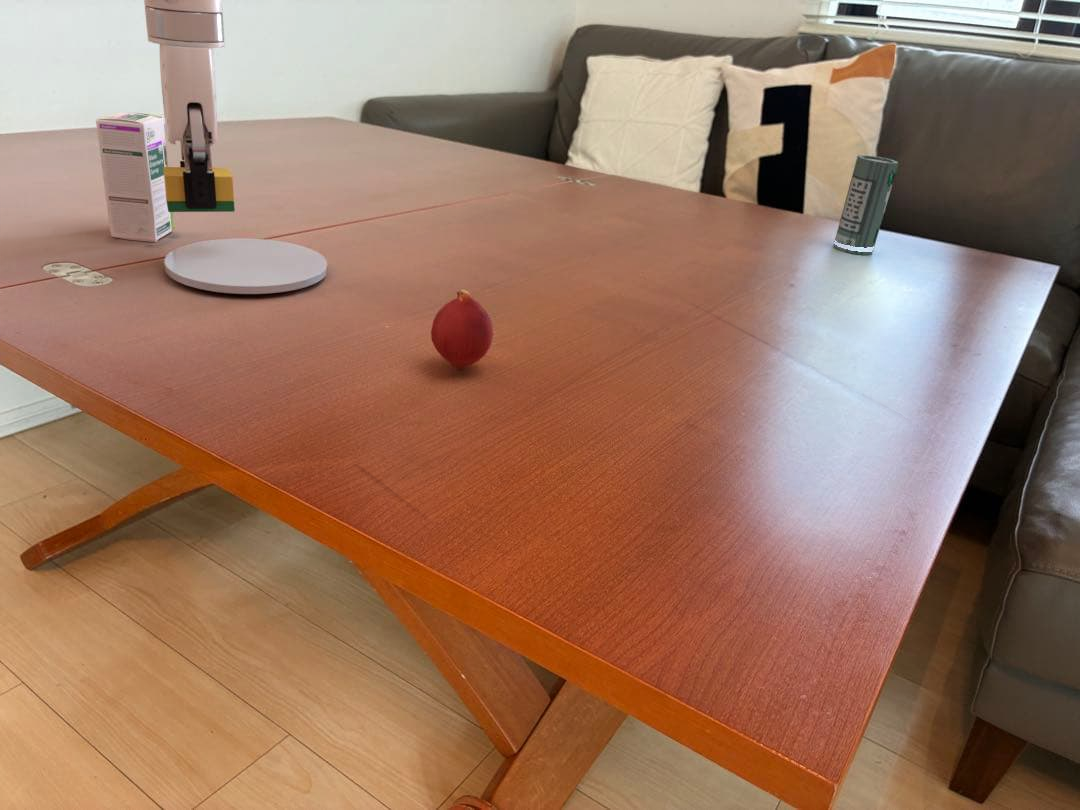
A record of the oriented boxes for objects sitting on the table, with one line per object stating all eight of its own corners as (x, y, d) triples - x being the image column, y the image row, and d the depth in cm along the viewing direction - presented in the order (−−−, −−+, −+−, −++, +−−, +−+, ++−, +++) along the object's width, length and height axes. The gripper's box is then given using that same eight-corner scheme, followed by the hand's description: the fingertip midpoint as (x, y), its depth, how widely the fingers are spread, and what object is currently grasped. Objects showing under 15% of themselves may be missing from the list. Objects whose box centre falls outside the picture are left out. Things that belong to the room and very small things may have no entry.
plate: (169, 302, 89) (167, 288, 88) (162, 250, 103) (160, 238, 103) (341, 296, 96) (341, 283, 96) (312, 248, 111) (312, 237, 110)
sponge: (168, 212, 94) (164, 175, 92) (166, 202, 98) (163, 166, 96) (234, 211, 97) (232, 176, 95) (230, 201, 100) (228, 167, 99)
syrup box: (156, 243, 106) (145, 122, 99) (108, 237, 105) (94, 116, 99) (174, 231, 111) (165, 115, 104) (129, 226, 111) (117, 110, 104)
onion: (463, 351, 86) (469, 276, 82) (501, 372, 82) (509, 294, 79) (417, 363, 82) (421, 285, 78) (455, 386, 78) (461, 304, 75)
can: (878, 253, 143) (905, 163, 136) (854, 255, 140) (881, 163, 133) (850, 243, 147) (875, 155, 141) (826, 245, 144) (850, 155, 138)
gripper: (144, 18, 94) (160, 184, 102) (148, 34, 81) (167, 223, 89) (216, 24, 97) (226, 184, 105) (232, 39, 84) (242, 222, 92)
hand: (199, 200), depth 97 cm, fingers closed on sponge, 4 cm apart
